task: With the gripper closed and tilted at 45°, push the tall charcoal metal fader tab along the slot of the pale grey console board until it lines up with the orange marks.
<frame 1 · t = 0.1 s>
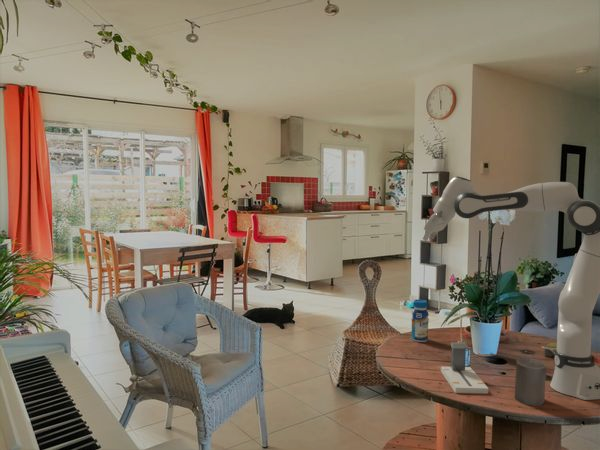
hand: (427, 239, 201), 54 cm above the table, tool tilted 30°, fingers open, 8 cm apart
pillar candle: (529, 400, 167), on the table
fader tab: (458, 356, 189), point 8 cm above the table, slide at -7.0 cm
beverage bottle: (419, 340, 235), on the table
cylindrical container: (482, 354, 215), on the table
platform: (553, 357, 211), on the table
console board: (463, 381, 182), on the table
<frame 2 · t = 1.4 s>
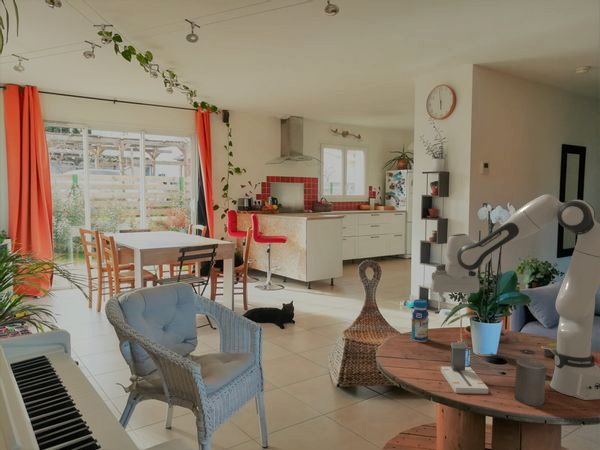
hand: (454, 302, 202), 27 cm above the table, tool pointing down, fingers open, 8 cm apart
nothing on the table moved.
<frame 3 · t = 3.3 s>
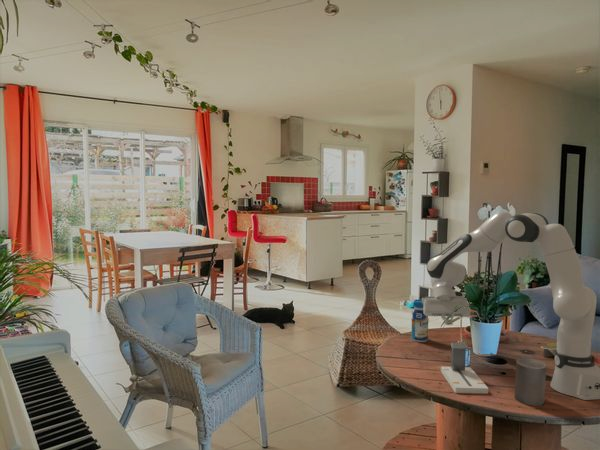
hand: (449, 324, 203), 17 cm above the table, tool tilted 45°, fingers closed
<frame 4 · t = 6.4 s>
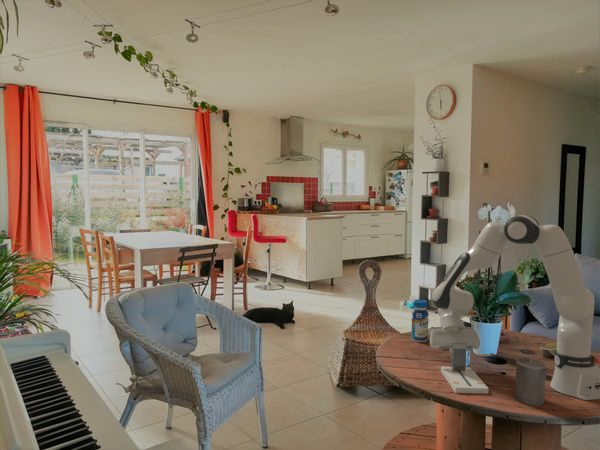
hand: (457, 357, 190), 7 cm above the table, tool tilted 45°, fingers closed, pressing on fader tab
fader tab: (458, 356, 188), point 8 cm above the table, slide at -6.5 cm, touching gripper
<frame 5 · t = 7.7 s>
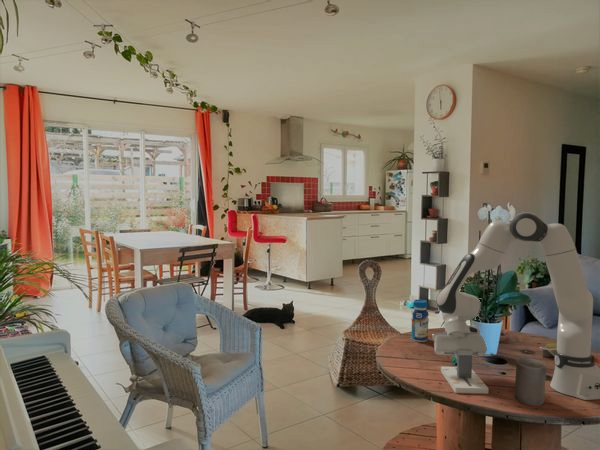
hand: (463, 364, 183), 7 cm above the table, tool tilted 45°, fingers closed, pressing on fader tab
fader tab: (464, 363, 181), point 8 cm above the table, slide at 1.0 cm, touching gripper
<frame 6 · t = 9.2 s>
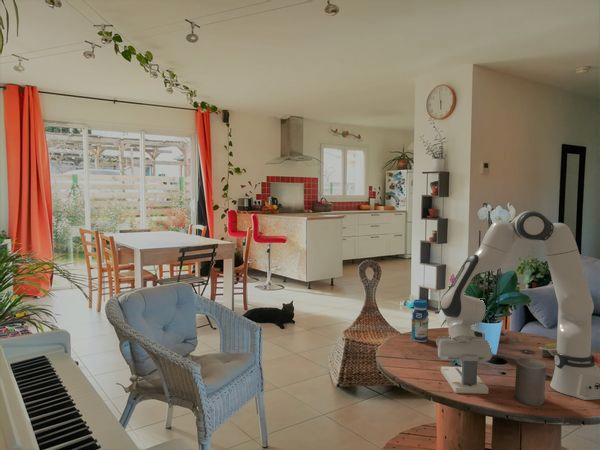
hand: (468, 370, 177), 7 cm above the table, tool tilted 45°, fingers closed, pressing on fader tab
fader tab: (469, 369, 175), point 8 cm above the table, slide at 7.0 cm, touching gripper
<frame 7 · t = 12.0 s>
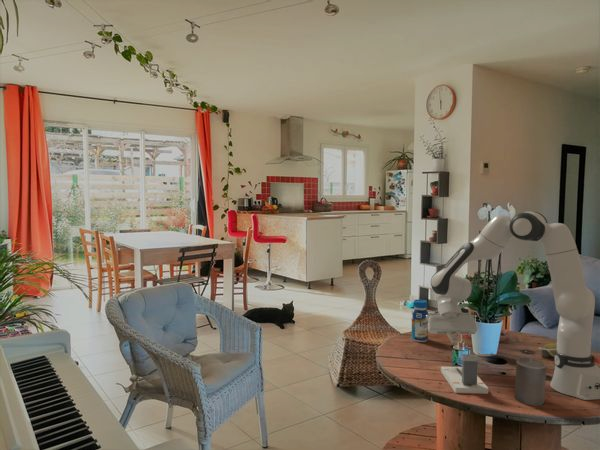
hand: (455, 342, 193), 12 cm above the table, tool tilted 45°, fingers closed
fader tab: (469, 369, 175), point 8 cm above the table, slide at 7.2 cm
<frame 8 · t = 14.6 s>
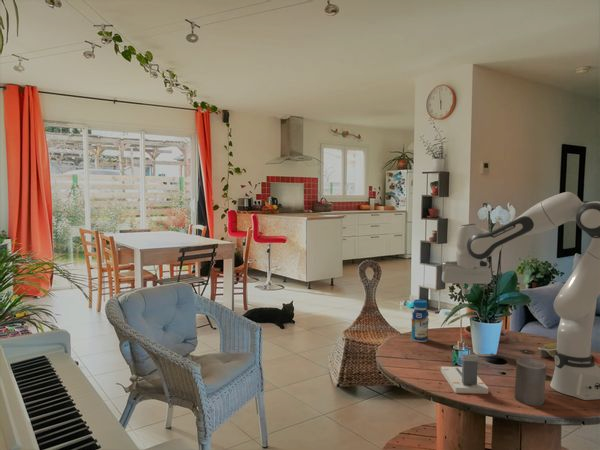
hand: (465, 293, 199), 31 cm above the table, tool pointing down, fingers closed
at the end: fader tab slide at 7.2 cm; the gripper is holding nothing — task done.
